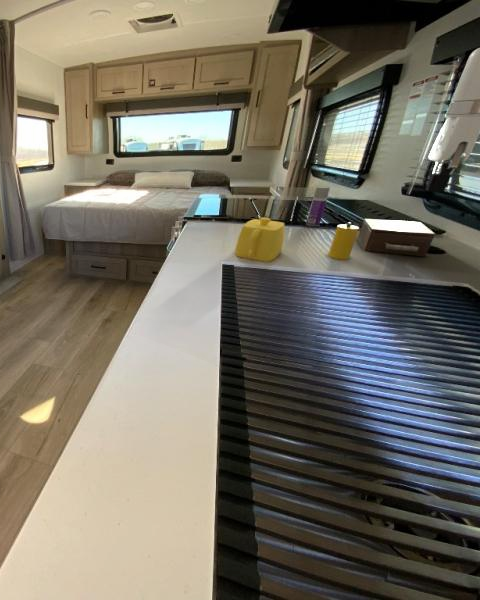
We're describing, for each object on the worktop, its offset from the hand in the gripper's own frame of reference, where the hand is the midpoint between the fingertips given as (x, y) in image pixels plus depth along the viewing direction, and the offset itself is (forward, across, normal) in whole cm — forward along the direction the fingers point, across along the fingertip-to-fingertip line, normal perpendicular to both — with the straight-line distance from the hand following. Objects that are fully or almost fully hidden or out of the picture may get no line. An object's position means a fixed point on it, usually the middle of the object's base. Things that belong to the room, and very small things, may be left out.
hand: (434, 190), depth 86 cm
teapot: (+21, +3, -37) cm, 43 cm away
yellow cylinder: (+21, -1, -15) cm, 26 cm away
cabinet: (+21, -18, 0) cm, 28 cm away
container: (+21, -43, -20) cm, 52 cm away
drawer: (+20, -14, 0) cm, 25 cm away
